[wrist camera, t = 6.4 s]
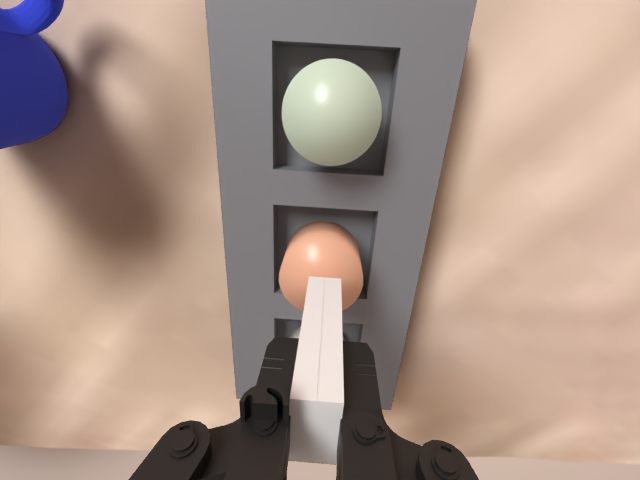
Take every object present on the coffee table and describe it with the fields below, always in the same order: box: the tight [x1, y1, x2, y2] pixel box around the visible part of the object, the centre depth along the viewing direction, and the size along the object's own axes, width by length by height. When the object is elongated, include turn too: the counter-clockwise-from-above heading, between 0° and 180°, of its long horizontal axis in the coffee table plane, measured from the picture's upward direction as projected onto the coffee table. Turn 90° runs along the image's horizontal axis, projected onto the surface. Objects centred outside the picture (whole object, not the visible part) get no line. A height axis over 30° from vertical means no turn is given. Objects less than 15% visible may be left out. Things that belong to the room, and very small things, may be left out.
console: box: [205, 0, 477, 410], centre depth 21 cm, size 12×26×3 cm, turn 177°
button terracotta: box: [279, 221, 363, 311], centre depth 18 cm, size 4×4×3 cm
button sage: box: [282, 59, 382, 166], centre depth 15 cm, size 4×4×3 cm
